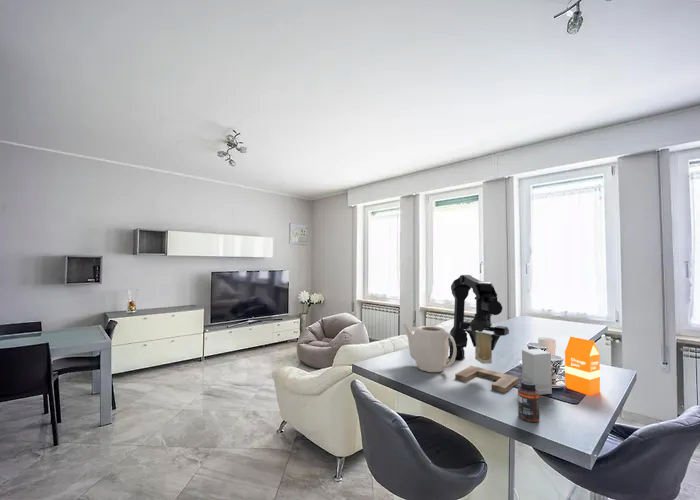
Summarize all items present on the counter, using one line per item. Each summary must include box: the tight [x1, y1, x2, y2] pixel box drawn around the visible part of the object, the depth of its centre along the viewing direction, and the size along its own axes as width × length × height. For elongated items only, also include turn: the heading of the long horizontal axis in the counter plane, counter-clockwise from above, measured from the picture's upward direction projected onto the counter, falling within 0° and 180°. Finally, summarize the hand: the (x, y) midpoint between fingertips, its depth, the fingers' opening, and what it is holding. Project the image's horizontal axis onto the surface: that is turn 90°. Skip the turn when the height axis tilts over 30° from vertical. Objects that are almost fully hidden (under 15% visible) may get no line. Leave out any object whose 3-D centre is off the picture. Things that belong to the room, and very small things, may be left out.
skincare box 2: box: [521, 348, 553, 396], centre depth 121 cm, size 8×7×16 cm
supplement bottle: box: [517, 380, 540, 423], centre depth 99 cm, size 6×6×11 cm
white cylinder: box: [537, 337, 557, 356], centre depth 144 cm, size 7×7×15 cm
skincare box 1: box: [474, 330, 493, 365], centre depth 132 cm, size 6×4×12 cm
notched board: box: [454, 365, 520, 394], centre depth 131 cm, size 20×16×2 cm
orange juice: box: [564, 336, 601, 397], centre depth 124 cm, size 8×9×20 cm
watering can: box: [403, 323, 457, 373], centre depth 145 cm, size 16×27×19 cm, turn 51°
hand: (483, 348), depth 132 cm, fingers closed on skincare box 1, 7 cm apart
